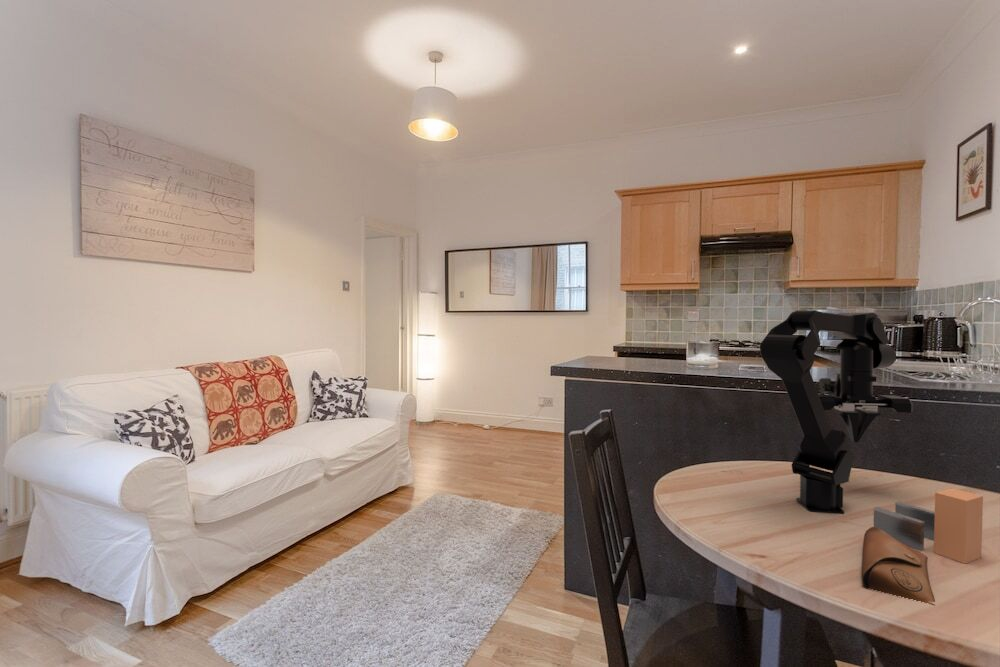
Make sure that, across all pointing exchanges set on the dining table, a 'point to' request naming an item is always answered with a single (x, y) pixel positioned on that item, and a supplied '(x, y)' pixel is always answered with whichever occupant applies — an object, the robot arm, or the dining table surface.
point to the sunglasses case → (894, 567)
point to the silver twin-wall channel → (906, 524)
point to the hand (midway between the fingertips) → (854, 442)
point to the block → (958, 525)
